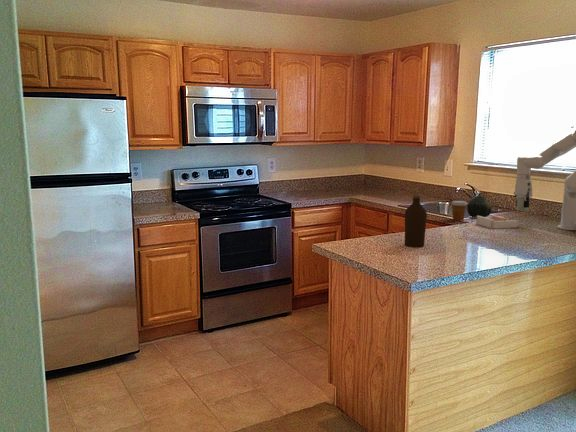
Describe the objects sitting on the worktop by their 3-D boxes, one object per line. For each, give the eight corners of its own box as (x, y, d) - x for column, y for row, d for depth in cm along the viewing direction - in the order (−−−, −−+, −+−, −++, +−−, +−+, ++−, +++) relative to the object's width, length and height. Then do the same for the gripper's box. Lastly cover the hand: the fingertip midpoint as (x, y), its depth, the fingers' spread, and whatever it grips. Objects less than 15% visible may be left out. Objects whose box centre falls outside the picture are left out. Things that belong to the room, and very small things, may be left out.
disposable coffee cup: (449, 220, 323) (450, 201, 321) (451, 218, 332) (452, 200, 330) (464, 221, 319) (465, 202, 317) (467, 219, 327) (468, 201, 325)
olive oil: (418, 248, 246) (421, 197, 242) (399, 245, 253) (401, 195, 249) (429, 245, 253) (431, 195, 249) (410, 241, 260) (412, 193, 256)
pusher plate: (506, 226, 302) (506, 218, 301) (503, 227, 301) (504, 218, 300) (492, 223, 313) (493, 215, 313) (490, 223, 313) (491, 215, 312)
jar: (530, 210, 307) (531, 195, 305) (521, 211, 305) (521, 196, 304) (523, 209, 313) (523, 194, 311) (514, 209, 311) (514, 195, 310)
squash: (480, 211, 325) (489, 193, 329) (460, 209, 337) (469, 191, 341) (489, 224, 332) (498, 206, 337) (469, 222, 344) (478, 204, 349)
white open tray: (517, 227, 302) (517, 218, 301) (492, 228, 298) (492, 220, 297) (500, 222, 316) (501, 214, 316) (476, 223, 312) (476, 215, 312)
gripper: (539, 177, 299) (537, 208, 301) (519, 175, 315) (518, 204, 318) (528, 178, 297) (526, 208, 299) (508, 176, 313) (507, 205, 316)
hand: (522, 206), depth 309 cm, fingers closed on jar, 6 cm apart
